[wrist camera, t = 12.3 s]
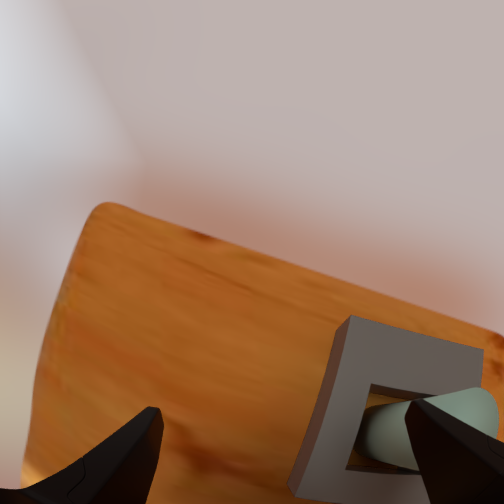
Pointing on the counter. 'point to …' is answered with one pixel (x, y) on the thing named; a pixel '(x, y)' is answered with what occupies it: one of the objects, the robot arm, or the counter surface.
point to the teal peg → (395, 432)
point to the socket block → (354, 400)
